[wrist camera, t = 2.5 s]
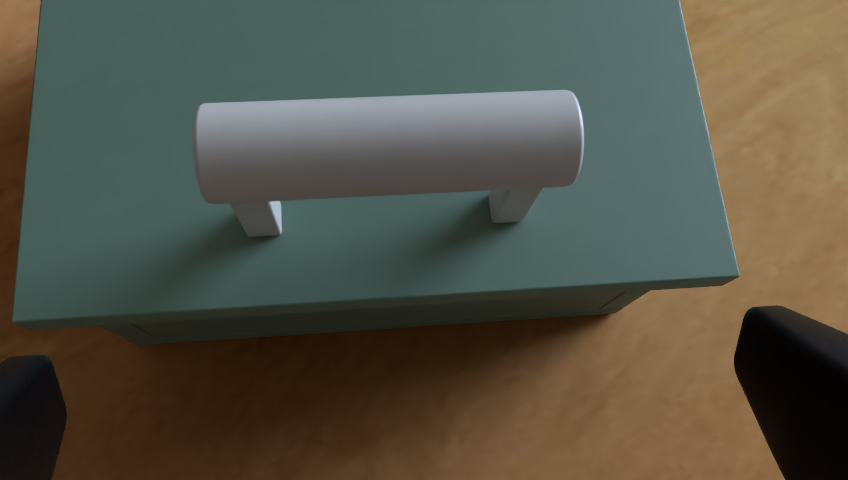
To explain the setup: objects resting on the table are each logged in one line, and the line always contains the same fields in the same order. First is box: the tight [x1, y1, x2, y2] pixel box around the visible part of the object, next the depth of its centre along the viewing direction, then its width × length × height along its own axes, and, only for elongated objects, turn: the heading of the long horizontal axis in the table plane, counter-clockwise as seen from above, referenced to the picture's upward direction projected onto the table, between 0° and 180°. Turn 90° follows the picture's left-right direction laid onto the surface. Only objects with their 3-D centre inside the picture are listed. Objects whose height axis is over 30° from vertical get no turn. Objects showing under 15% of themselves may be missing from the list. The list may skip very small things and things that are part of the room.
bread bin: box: [102, 290, 650, 345], centre depth 20 cm, size 12×15×7 cm
